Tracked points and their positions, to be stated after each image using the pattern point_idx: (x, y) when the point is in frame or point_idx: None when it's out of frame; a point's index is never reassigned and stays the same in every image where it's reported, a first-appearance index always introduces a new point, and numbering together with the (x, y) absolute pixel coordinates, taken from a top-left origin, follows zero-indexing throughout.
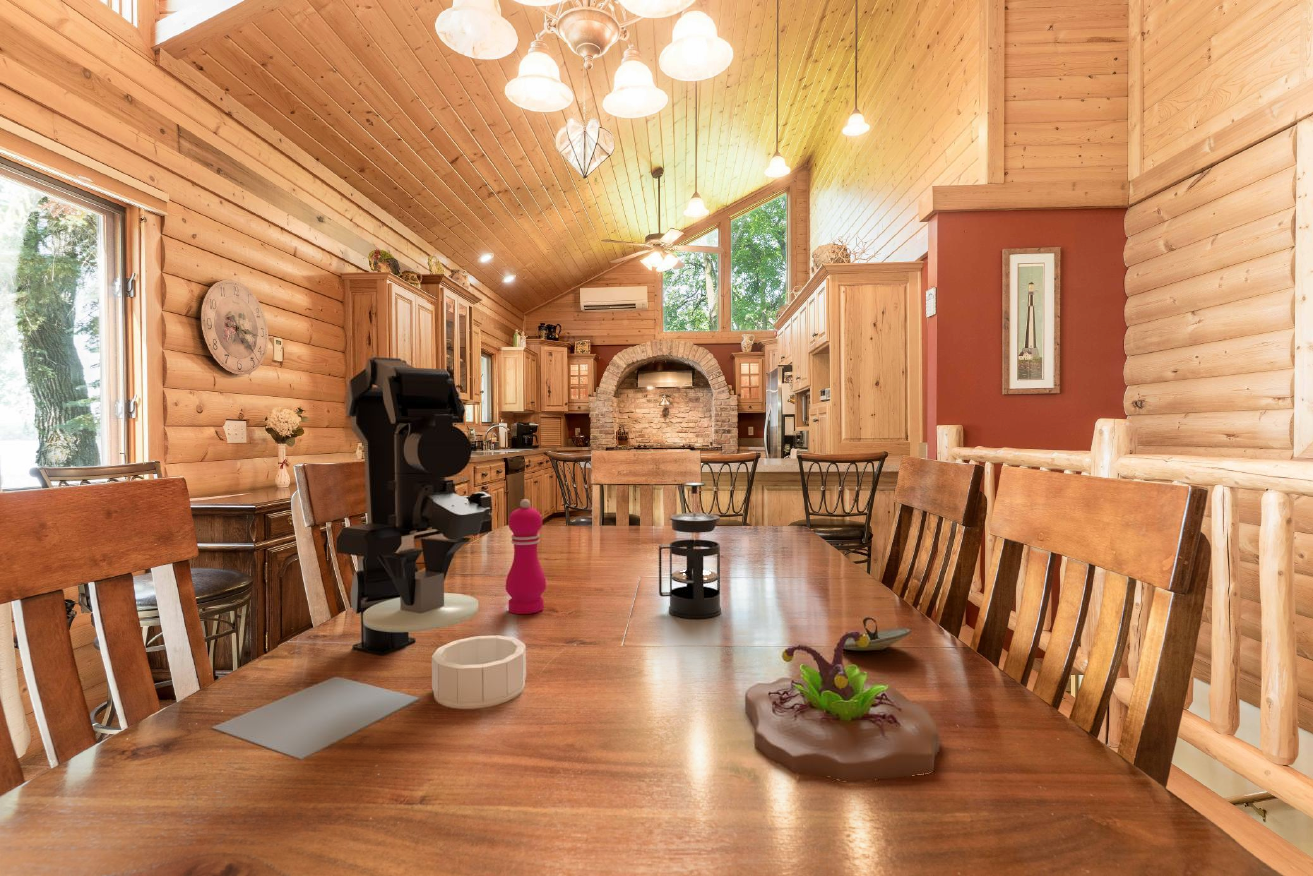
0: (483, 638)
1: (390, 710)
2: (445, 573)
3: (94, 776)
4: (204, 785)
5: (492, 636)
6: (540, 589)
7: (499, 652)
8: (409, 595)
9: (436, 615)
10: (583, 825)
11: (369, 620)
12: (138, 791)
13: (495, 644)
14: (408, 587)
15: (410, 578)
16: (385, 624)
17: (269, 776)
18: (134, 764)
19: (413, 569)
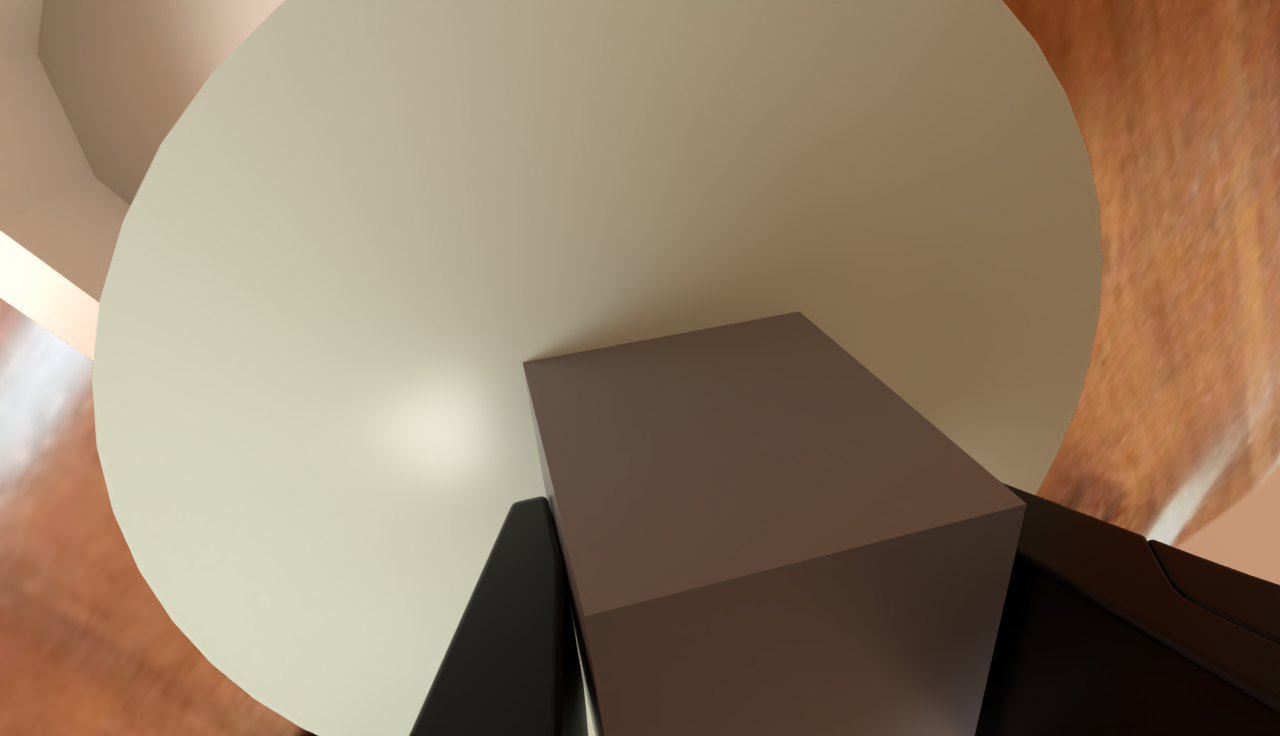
0: (91, 298)
1: None
2: (461, 684)
3: (1186, 475)
4: (1180, 246)
5: (5, 278)
6: None
7: (33, 172)
8: None
9: (782, 133)
10: None
11: (1054, 448)
12: (1218, 340)
13: (27, 218)
14: (1045, 501)
15: (1131, 562)
16: (1100, 281)
17: (1119, 146)
18: (1137, 472)
19: (1237, 649)
